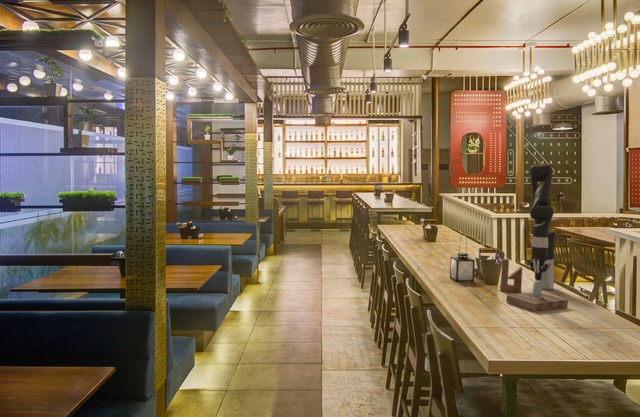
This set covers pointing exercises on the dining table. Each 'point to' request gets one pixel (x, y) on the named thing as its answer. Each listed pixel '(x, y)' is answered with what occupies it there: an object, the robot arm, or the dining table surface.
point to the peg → (537, 289)
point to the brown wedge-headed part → (515, 275)
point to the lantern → (462, 267)
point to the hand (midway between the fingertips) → (537, 280)
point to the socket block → (537, 302)
